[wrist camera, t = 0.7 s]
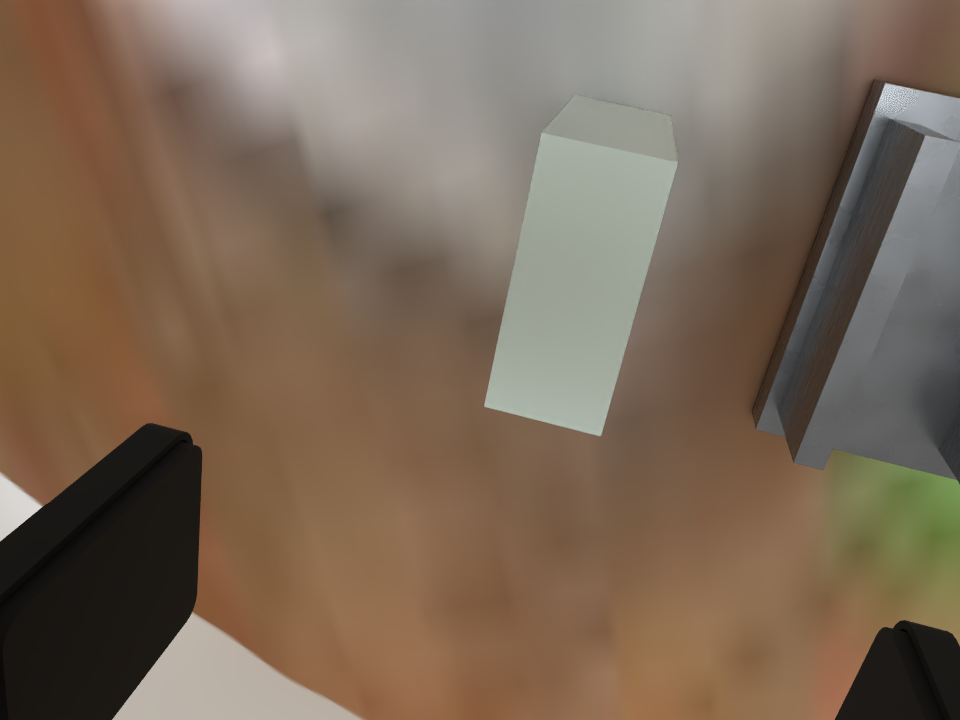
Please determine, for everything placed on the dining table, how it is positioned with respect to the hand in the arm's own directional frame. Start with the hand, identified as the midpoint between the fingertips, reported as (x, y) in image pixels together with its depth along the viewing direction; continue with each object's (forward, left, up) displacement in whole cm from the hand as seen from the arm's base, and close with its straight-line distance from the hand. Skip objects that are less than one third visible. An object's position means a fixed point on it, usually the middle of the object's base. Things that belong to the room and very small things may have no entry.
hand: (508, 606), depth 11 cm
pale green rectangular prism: (0, 0, -22) cm, 23 cm away
